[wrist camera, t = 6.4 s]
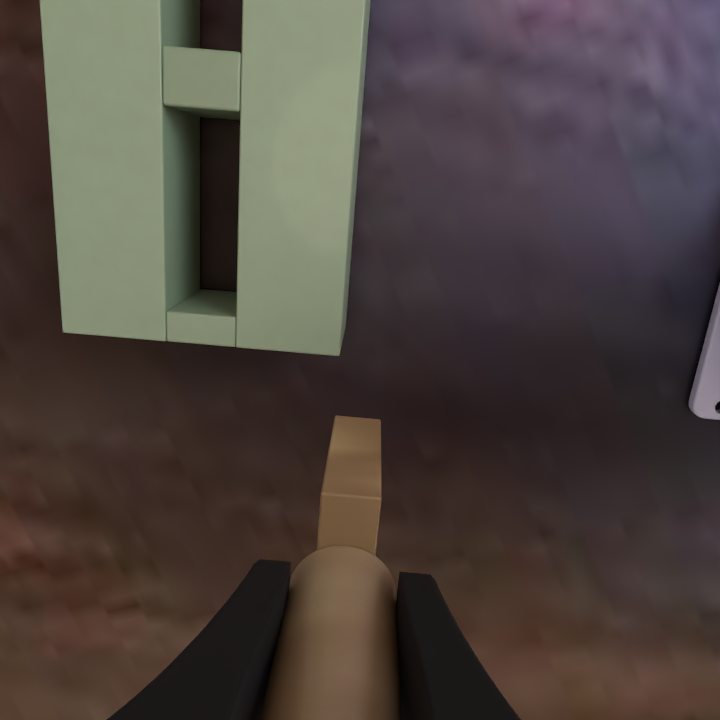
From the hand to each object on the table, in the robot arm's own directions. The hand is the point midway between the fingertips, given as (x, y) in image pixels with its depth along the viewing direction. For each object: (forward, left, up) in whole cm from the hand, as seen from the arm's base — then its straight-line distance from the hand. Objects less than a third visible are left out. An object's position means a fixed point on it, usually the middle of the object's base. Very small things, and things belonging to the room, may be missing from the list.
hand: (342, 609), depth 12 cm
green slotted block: (+5, -10, -10) cm, 15 cm away
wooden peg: (0, 0, -5) cm, 5 cm away
